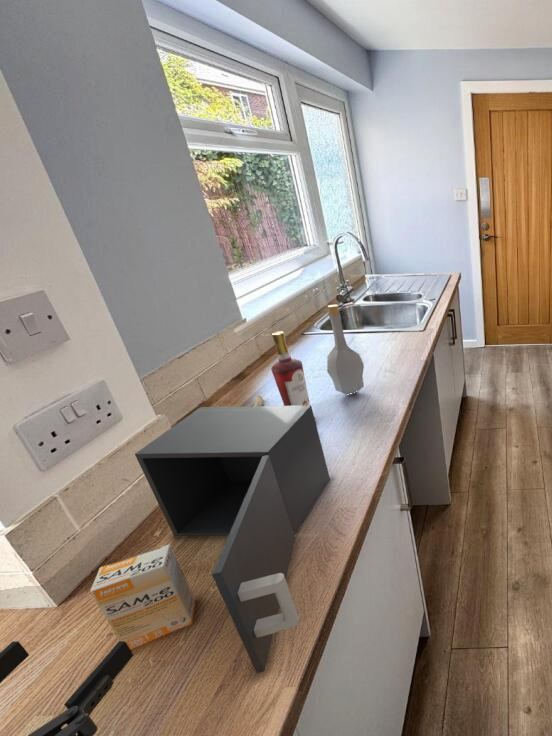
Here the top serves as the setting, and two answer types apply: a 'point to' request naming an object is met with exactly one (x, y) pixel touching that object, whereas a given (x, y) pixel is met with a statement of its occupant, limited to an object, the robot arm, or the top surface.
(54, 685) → the top surface
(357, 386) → the bottle
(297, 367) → the liquor
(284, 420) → the cabinet
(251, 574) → the cabinet door
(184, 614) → the supplement box
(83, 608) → the top surface
